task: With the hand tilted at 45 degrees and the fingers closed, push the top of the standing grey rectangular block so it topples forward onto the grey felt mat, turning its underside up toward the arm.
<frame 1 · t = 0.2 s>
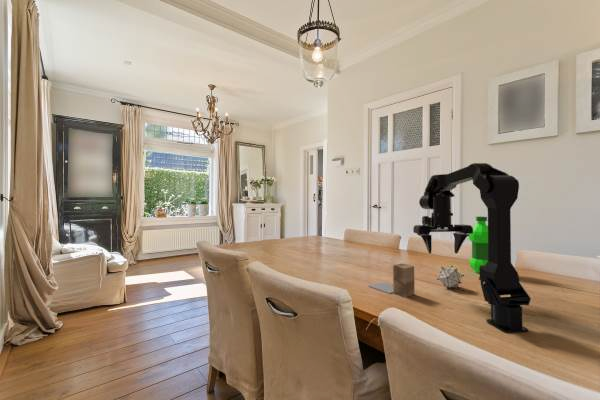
hand: (442, 253, 99), 14 cm above the table, tool pointing down, fingers open, 9 cm apart
grey spiky ball: (450, 288, 104), on the table
grey rectangular block: (404, 293, 98), on the table
felt mat: (385, 288, 104), on the table
plastic bottle: (482, 272, 124), on the table
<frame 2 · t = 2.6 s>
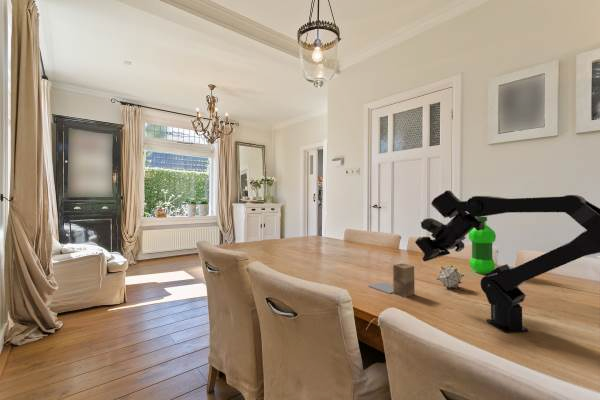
hand: (423, 260, 92), 13 cm above the table, tool tilted 45°, fingers closed
nothing on the table moved.
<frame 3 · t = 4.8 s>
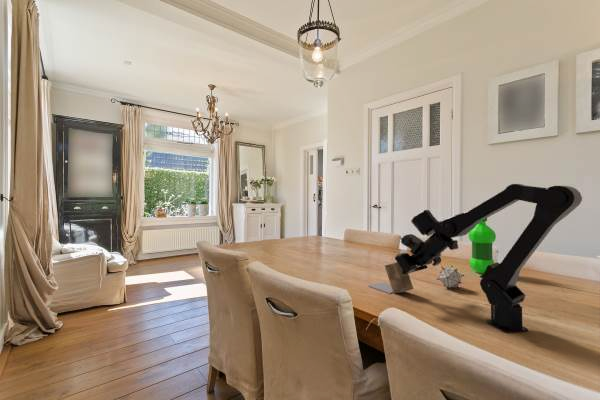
hand: (403, 273, 98), 7 cm above the table, tool tilted 45°, fingers closed
grey rectangular block: (403, 291, 98), point 1 cm above the table, tilted 22°
everything else where it was.
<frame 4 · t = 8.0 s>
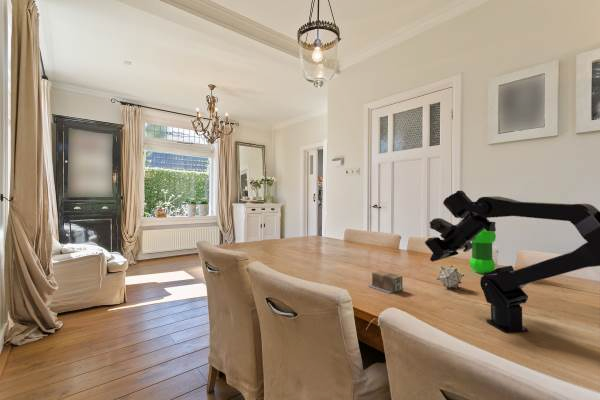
hand: (431, 260, 91), 13 cm above the table, tool tilted 45°, fingers closed
grey rectangular block: (398, 284, 100), point 3 cm above the table, tilted 90°, touching felt mat
everything else where it was.
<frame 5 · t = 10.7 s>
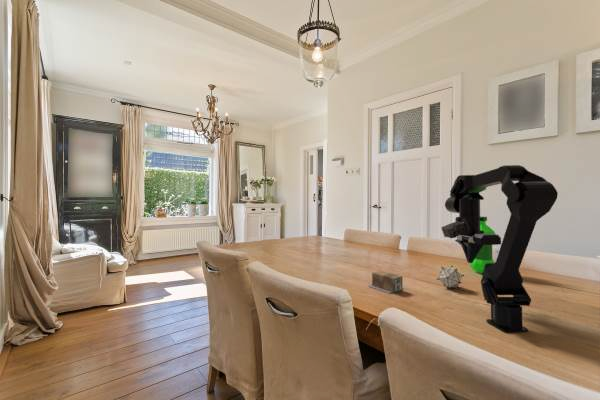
hand: (470, 262, 88), 13 cm above the table, tool pointing down, fingers closed
nothing on the table moved.
at the end: grey rectangular block tilted 90°; grey rectangular block touching felt mat; grey rectangular block moved 3.7 cm from its start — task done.
